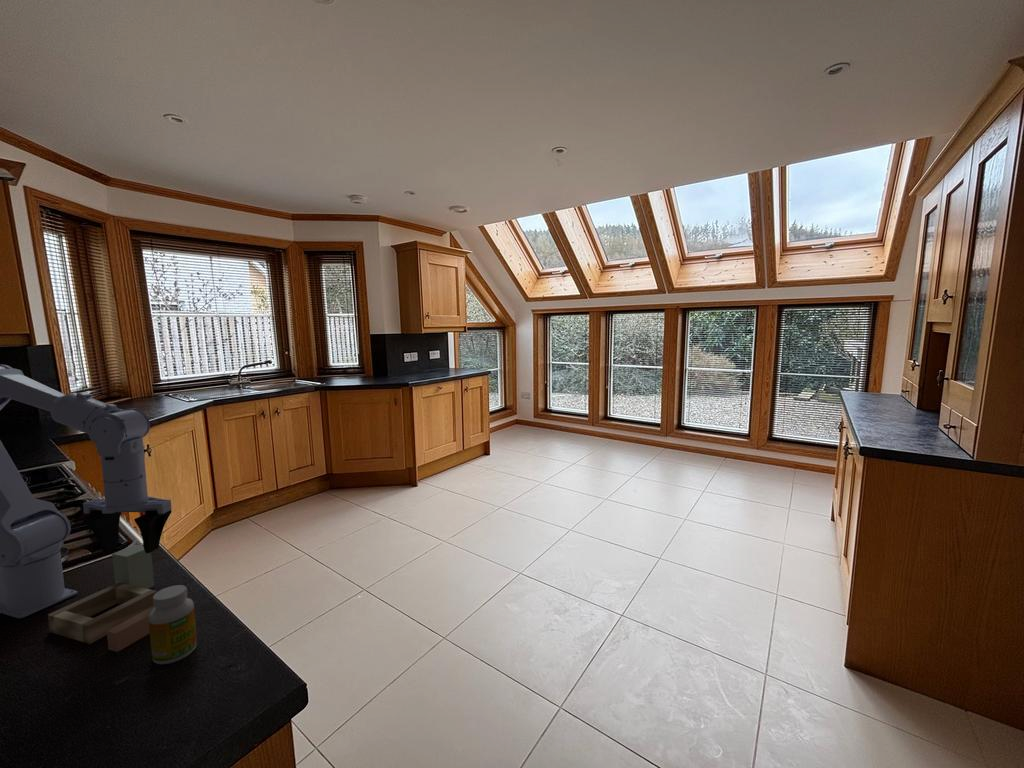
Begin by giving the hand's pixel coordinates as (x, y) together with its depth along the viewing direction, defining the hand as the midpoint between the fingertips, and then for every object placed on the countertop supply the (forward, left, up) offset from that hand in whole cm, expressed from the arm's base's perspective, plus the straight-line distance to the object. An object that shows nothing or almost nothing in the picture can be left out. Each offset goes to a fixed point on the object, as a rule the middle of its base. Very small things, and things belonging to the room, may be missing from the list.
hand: (131, 550), depth 79 cm
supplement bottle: (+21, -8, -10) cm, 25 cm away
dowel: (-4, +2, -10) cm, 10 cm away
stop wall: (+12, -5, -10) cm, 16 cm away
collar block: (+1, -5, -10) cm, 11 cm away
